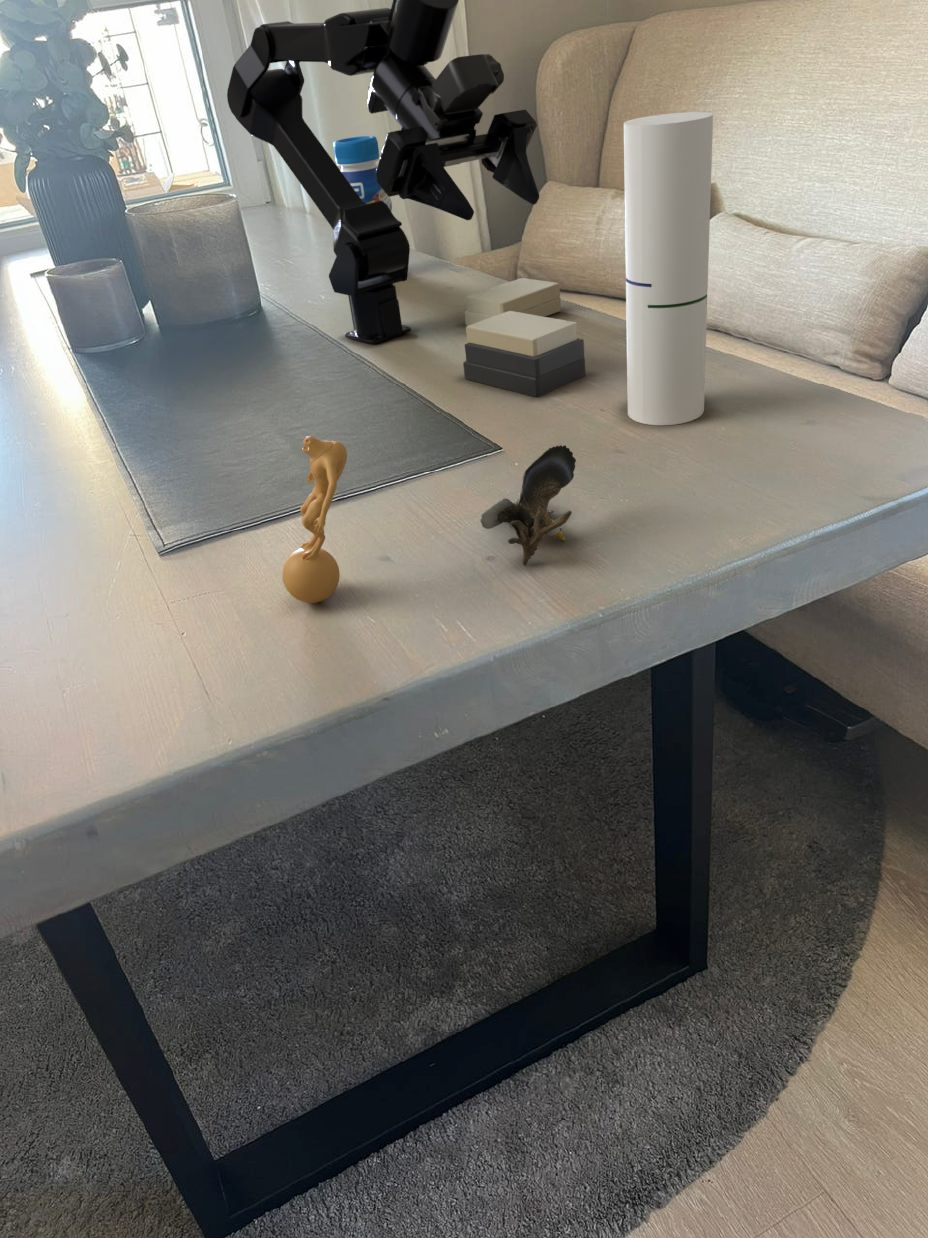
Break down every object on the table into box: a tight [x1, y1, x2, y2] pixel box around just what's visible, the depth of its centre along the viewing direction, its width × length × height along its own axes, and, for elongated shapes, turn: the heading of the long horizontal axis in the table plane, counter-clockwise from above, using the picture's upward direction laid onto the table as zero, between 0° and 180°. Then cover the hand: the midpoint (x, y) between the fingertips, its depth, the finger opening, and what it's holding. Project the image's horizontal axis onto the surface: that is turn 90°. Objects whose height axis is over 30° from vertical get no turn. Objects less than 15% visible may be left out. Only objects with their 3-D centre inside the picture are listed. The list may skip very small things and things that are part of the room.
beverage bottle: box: [332, 135, 393, 212], centre depth 147 cm, size 8×8×20 cm
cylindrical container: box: [623, 111, 714, 426], centre depth 83 cm, size 7×7×25 cm
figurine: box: [282, 435, 348, 604], centre depth 64 cm, size 8×6×12 cm
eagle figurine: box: [479, 444, 577, 566], centre depth 70 cm, size 8×7×9 cm
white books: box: [464, 277, 562, 326], centre depth 122 cm, size 11×7×4 cm
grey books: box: [462, 337, 586, 398], centre depth 101 cm, size 11×8×4 cm
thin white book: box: [465, 311, 578, 357], centre depth 100 cm, size 10×7×2 cm, turn 42°
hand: (505, 208), depth 96 cm, fingers open, 9 cm apart
